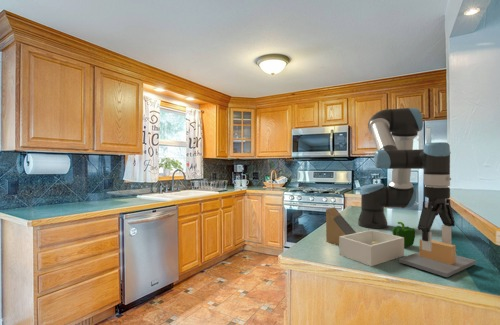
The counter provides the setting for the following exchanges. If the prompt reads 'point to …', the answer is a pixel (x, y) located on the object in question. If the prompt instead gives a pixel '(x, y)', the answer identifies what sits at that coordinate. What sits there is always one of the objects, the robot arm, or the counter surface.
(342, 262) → the counter surface
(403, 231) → the bell pepper
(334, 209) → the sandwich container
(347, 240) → the tub
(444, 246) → the lid
